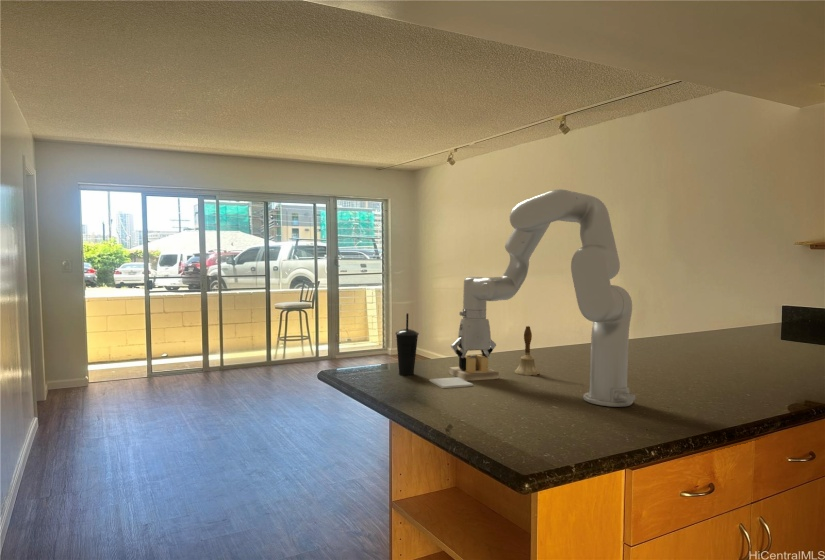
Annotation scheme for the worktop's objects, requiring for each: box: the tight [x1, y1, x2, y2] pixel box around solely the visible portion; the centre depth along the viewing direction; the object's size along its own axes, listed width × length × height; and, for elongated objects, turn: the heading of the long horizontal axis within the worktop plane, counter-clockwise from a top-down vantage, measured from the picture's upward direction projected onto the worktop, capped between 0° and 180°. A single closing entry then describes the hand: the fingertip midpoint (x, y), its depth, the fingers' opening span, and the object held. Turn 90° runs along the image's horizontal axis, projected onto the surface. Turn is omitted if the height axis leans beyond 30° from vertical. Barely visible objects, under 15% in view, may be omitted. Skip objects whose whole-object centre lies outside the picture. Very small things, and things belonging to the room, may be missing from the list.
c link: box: [458, 353, 489, 373], centre depth 177 cm, size 7×7×4 cm
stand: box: [448, 354, 499, 382], centre depth 177 cm, size 12×12×7 cm
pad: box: [428, 376, 474, 389], centre depth 165 cm, size 10×10×1 cm
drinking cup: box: [395, 313, 420, 376], centre depth 178 cm, size 8×8×20 cm
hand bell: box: [514, 325, 540, 376], centre depth 183 cm, size 8×8×16 cm
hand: (473, 368), depth 177 cm, fingers closed on c link, 7 cm apart
